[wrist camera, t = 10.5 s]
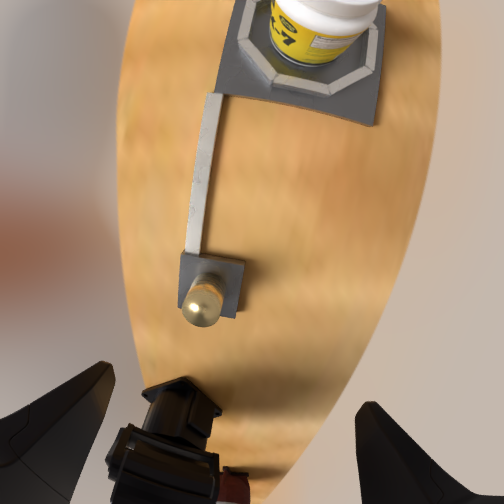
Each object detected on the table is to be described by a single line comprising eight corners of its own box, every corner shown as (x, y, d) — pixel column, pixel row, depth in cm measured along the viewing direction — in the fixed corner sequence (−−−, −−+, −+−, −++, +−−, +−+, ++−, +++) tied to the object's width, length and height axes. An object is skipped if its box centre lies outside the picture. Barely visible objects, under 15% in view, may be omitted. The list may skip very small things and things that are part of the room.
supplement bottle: (260, 12, 12) (259, -67, 5) (331, 6, 12) (371, -63, 4) (279, 73, 14) (295, 14, 6) (352, 66, 14) (416, 17, 6)
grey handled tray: (315, 324, 21) (322, 356, 18) (180, 302, 21) (166, 331, 17) (382, 10, 12) (403, -11, 9) (234, -23, 12) (228, -51, 8)
